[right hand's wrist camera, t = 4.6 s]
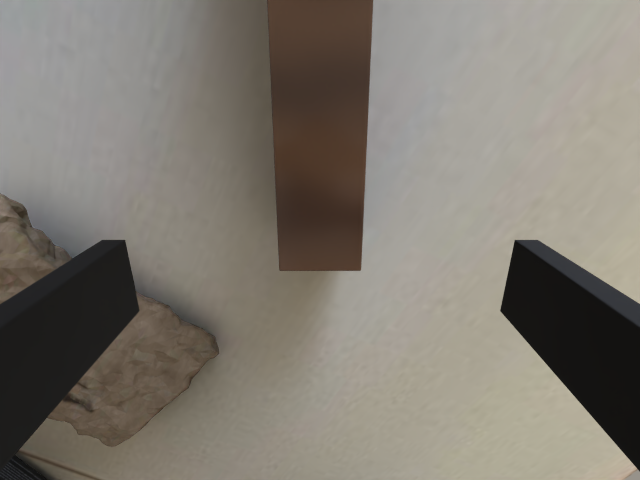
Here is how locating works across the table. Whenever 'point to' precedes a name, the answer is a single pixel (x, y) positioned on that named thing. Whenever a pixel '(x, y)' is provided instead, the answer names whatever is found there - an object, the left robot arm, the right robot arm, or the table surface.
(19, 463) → the graphics card box
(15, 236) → the stone
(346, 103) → the walnut plank
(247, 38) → the table surface
